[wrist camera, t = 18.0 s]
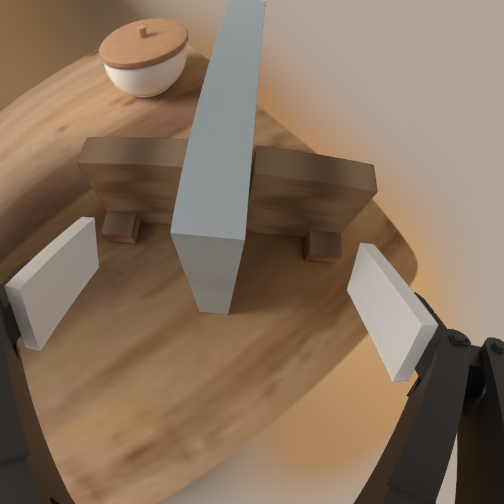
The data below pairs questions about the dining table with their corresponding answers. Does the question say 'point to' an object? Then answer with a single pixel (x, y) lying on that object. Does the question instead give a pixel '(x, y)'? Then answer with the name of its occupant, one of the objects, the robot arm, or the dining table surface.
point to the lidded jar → (145, 56)
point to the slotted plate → (220, 161)
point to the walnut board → (259, 200)
